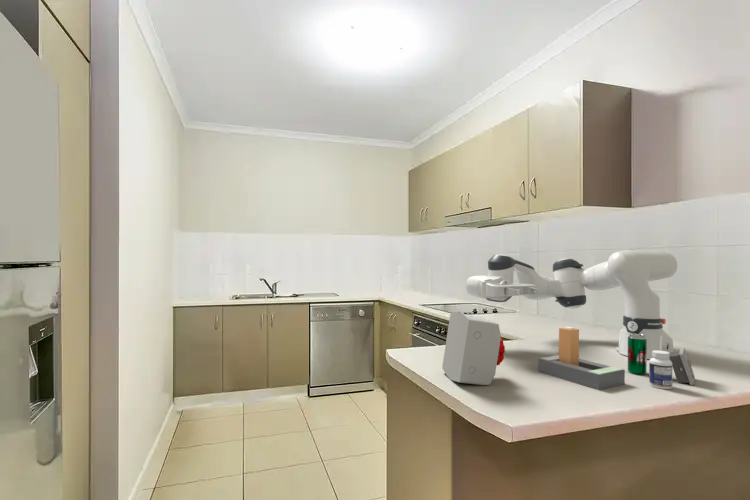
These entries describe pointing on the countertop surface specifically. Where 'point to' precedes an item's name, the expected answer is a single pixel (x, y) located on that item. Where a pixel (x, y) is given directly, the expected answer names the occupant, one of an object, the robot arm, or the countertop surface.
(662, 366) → the pill bottle
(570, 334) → the switch tab
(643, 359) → the soda can
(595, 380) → the toggle switch
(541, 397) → the countertop surface
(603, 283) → the robot arm
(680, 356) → the electrical switch
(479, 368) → the electrical switch box
